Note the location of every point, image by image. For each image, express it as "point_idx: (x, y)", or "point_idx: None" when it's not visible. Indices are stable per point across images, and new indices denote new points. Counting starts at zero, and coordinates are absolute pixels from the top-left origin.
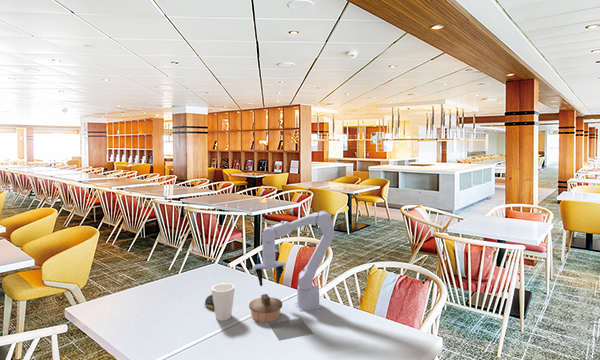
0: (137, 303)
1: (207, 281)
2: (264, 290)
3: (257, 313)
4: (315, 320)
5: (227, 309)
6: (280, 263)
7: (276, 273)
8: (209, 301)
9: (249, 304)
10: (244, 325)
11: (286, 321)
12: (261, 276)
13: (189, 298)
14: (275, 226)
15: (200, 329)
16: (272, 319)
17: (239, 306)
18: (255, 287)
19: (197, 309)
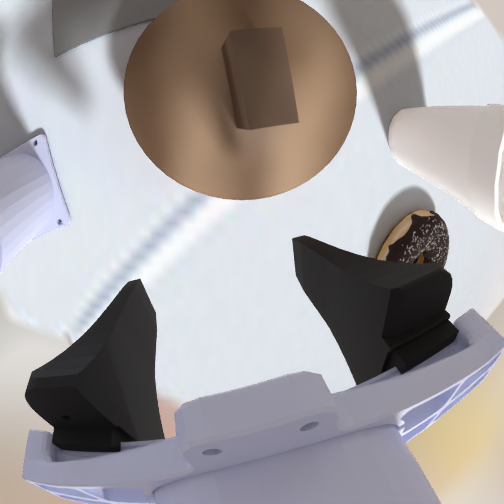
0: (499, 269)
1: None
2: (222, 366)
3: None
4: (8, 51)
5: (435, 106)
6: (85, 489)
7: (148, 381)
8: (447, 236)
9: (354, 105)
10: (343, 32)
11: (132, 14)
12: (360, 270)
13: None
14: None
15: (458, 80)
16: None
17: (346, 227)
18: (256, 383)
19: (452, 223)
